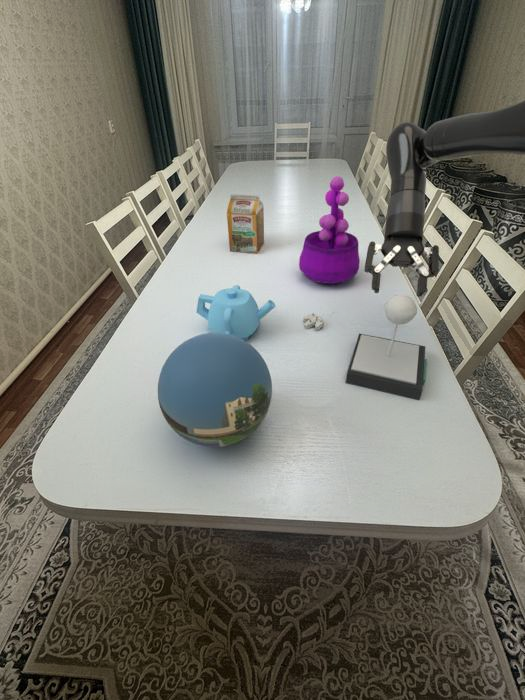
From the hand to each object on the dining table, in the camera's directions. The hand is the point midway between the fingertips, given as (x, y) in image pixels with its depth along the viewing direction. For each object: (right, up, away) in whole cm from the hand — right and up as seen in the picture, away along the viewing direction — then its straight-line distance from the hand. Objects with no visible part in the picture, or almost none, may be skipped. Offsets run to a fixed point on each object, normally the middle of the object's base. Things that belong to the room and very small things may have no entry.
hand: (398, 293), depth 74 cm
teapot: (-35, -7, +20) cm, 40 cm away
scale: (0, -16, +7) cm, 17 cm away
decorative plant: (-7, +12, +42) cm, 44 cm away
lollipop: (0, -13, +5) cm, 14 cm away
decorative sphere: (-36, -26, -5) cm, 45 cm away
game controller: (-12, -4, +22) cm, 26 cm away
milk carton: (-34, +27, +63) cm, 76 cm away
